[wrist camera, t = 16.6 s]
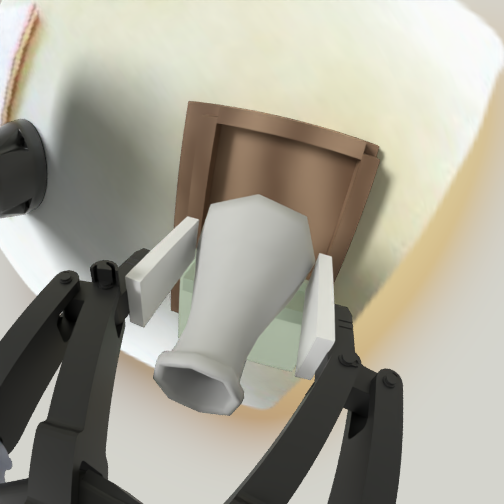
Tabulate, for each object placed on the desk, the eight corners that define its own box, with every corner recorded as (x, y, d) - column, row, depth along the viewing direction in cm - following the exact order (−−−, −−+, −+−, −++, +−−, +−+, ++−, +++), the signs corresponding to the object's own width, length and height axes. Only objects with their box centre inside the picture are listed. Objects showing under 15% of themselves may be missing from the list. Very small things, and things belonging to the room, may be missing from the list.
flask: (306, 306, 18) (286, 449, 9) (201, 288, 19) (131, 406, 11) (325, 201, 14) (333, 342, 6) (197, 186, 16) (76, 283, 7)
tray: (174, 305, 35) (166, 317, 33) (192, 101, 23) (181, 101, 21) (299, 343, 34) (297, 357, 32) (376, 144, 21) (383, 148, 19)
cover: (180, 334, 34) (169, 354, 31) (184, 245, 27) (168, 263, 24) (292, 368, 33) (289, 390, 30) (332, 287, 26) (333, 311, 23)
